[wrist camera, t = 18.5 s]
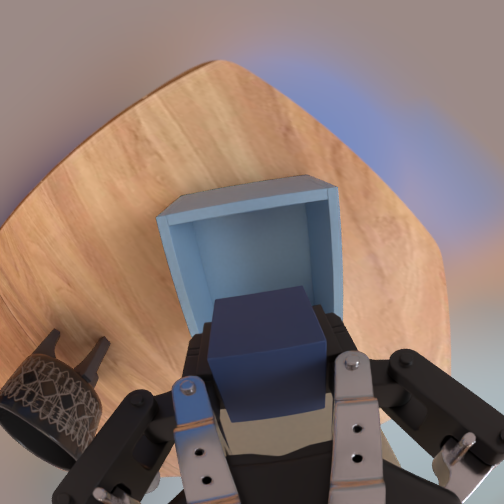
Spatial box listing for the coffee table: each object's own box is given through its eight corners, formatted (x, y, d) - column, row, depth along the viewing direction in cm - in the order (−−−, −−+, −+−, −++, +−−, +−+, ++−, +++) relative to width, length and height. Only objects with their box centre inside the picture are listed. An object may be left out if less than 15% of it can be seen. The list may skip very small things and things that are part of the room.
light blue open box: (180, 195, 26) (155, 217, 18) (307, 174, 26) (337, 186, 18) (213, 326, 32) (207, 380, 24) (319, 309, 32) (341, 359, 24)
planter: (81, 300, 30) (7, 397, 14) (141, 370, 34) (107, 476, 18) (37, 329, 32) (-21, 406, 15) (89, 387, 36) (53, 470, 20)
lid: (173, 542, 7) (202, 561, 8) (420, 504, 7) (400, 530, 8) (206, 380, 23) (218, 417, 24) (342, 358, 23) (342, 397, 24)
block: (214, 298, 12) (206, 359, 9) (302, 284, 12) (326, 340, 9) (231, 362, 14) (231, 423, 10) (307, 350, 14) (325, 408, 10)
